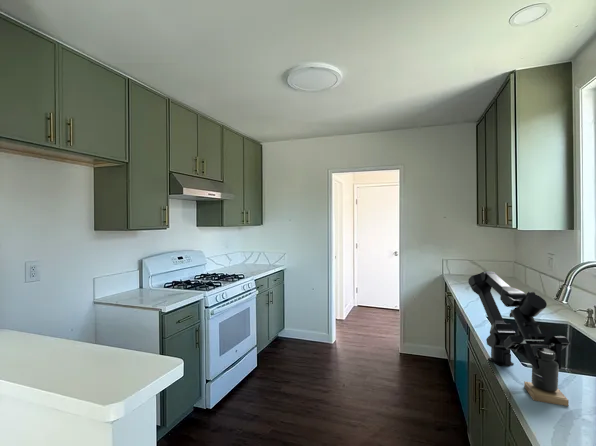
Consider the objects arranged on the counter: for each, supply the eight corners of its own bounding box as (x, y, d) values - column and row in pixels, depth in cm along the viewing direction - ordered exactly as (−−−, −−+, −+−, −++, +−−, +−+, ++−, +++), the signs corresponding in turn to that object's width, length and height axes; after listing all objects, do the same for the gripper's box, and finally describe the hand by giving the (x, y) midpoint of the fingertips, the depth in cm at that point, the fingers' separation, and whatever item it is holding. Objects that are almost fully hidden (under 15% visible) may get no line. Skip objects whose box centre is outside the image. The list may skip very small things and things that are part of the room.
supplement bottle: (530, 387, 105) (531, 350, 104) (532, 379, 110) (533, 344, 110) (557, 395, 100) (558, 357, 100) (558, 386, 105) (559, 350, 105)
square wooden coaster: (524, 386, 110) (524, 380, 110) (556, 391, 108) (556, 385, 108) (533, 400, 102) (533, 394, 102) (568, 406, 99) (568, 399, 99)
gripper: (541, 333, 120) (563, 378, 109) (489, 332, 120) (507, 376, 110) (558, 319, 112) (584, 366, 101) (503, 318, 112) (523, 364, 102)
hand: (548, 368), depth 103 cm, fingers closed on supplement bottle, 7 cm apart
